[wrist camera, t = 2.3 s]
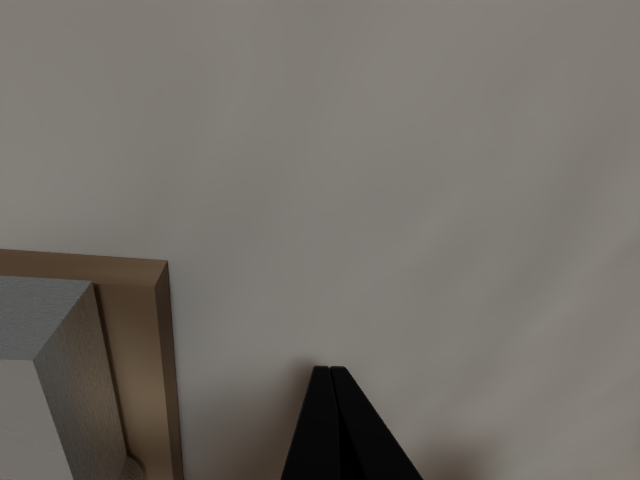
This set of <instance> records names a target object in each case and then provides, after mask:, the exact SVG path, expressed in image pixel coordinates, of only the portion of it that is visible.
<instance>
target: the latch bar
mask: <svg viewBox="0 0 640 480" xmlns="http://www.w3.org/2000/svg"><path fill="white" fill-rule="evenodd" d="M142 477H143V473H142V470H141V468H140V466H139V465H138V464H137V463H136V462H135V461H134V460H133V459H131V458H130V457H128V456H127V454H126V449H125V444H124V439H123V434H122V429H121V424H120V419H119V414H118V409H117V404H116V399H115V394H114V389H113V384H112V379H111V374H110V369H109V364H108V359H107V354H106V349H105V344H104V339H103V334H102V329H101V324H100V319H99V314H98V309H97V304H96V299H95V294H94V289H93V284H92V281H85V280H68V279H51V278H34V277H17V276H0V480H142Z"/></svg>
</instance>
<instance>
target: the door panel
mask: <svg viewBox="0 0 640 480" xmlns="http://www.w3.org/2000/svg"><path fill="white" fill-rule="evenodd" d="M0 276H17V277H34V278H51V279H68V280H85V281H92V284H93V289H94V294H95V299H96V304H97V309H98V314H99V319H100V324H101V329H102V334H103V339H104V344H105V349H106V354H107V359H108V364H109V369H110V374H111V379H112V384H113V389H114V394H115V399H116V404H117V409H118V414H119V419H120V424H121V429H122V434H123V439H124V444H125V449H126V454H127V456H128V457H130V458H131V459H133V460H134V461H135V462H136V463H137V464H138V465H139V466H140V468H141V470H142V473H143V477H142V480H183V470H182V456H181V442H180V428H179V415H178V401H177V387H176V374H175V360H174V346H173V332H172V319H171V305H170V291H169V278H168V264H167V261H166V260H152V259H137V258H123V257H108V256H93V255H79V254H64V253H50V252H35V251H20V250H6V249H0Z"/></svg>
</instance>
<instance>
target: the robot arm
mask: <svg viewBox="0 0 640 480" xmlns="http://www.w3.org/2000/svg"><path fill="white" fill-rule="evenodd" d="M280 480H423V478H422V477H421V475H420V474H419V472H418V471H417V470H416V468H415V467H414V465H413V464H412V462H411V461H410V459H409V458H408V457H407V455H406V454H405V452H404V451H403V449H402V448H401V446H400V445H399V443H398V442H397V441H396V439H395V438H394V436H393V435H392V433H391V432H390V430H389V429H388V428H387V426H386V425H385V423H384V422H383V420H382V419H381V417H380V416H379V415H378V413H377V412H376V410H375V409H374V407H373V406H372V404H371V403H370V402H369V400H368V399H367V397H366V396H365V394H364V393H363V391H362V390H361V388H360V387H359V386H358V384H357V383H356V381H355V380H354V378H353V377H352V375H351V374H350V373H349V371H348V370H347V368H345V367H343V366H331V367H330V368H329V367H328V366H314V367H313V370H312V374H311V377H310V380H309V384H308V387H307V391H306V394H305V398H304V401H303V404H302V408H301V411H300V415H299V418H298V421H297V425H296V428H295V432H294V435H293V438H292V442H291V445H290V449H289V452H288V455H287V459H286V462H285V466H284V469H283V472H282V476H281V479H280Z"/></svg>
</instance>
